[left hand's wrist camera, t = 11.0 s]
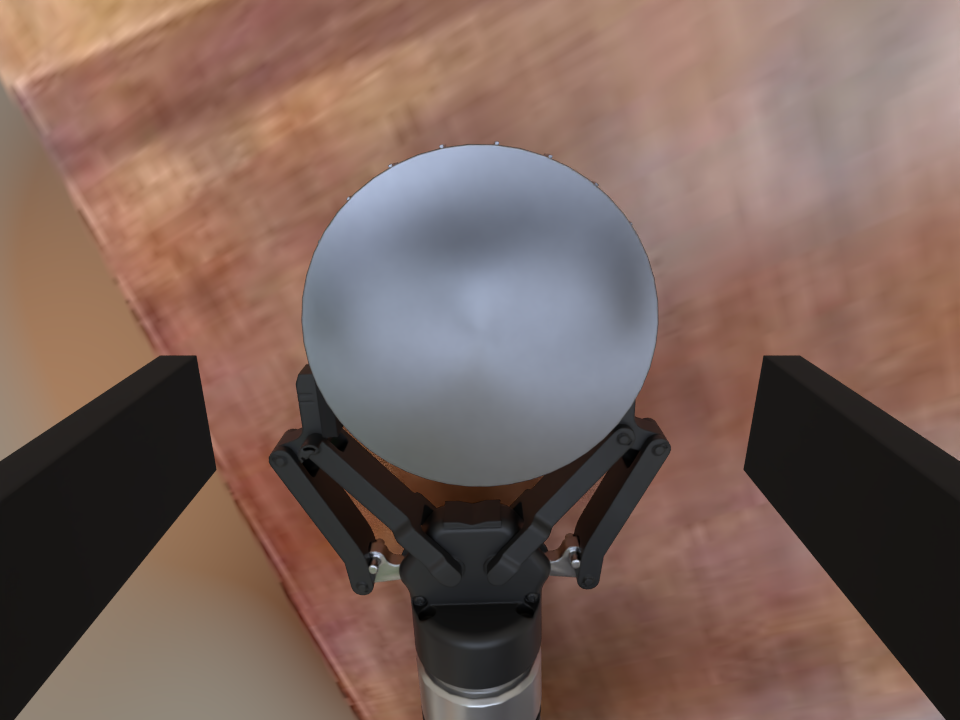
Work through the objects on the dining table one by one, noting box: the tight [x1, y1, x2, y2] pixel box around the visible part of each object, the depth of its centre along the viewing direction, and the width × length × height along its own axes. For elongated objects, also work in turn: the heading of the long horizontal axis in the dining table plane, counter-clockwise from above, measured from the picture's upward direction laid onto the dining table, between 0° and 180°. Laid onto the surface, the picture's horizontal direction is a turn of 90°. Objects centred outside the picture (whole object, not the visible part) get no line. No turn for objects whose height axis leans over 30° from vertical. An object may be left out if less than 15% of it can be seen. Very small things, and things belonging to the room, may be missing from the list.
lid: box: [302, 141, 658, 487], centre depth 19 cm, size 11×11×2 cm
